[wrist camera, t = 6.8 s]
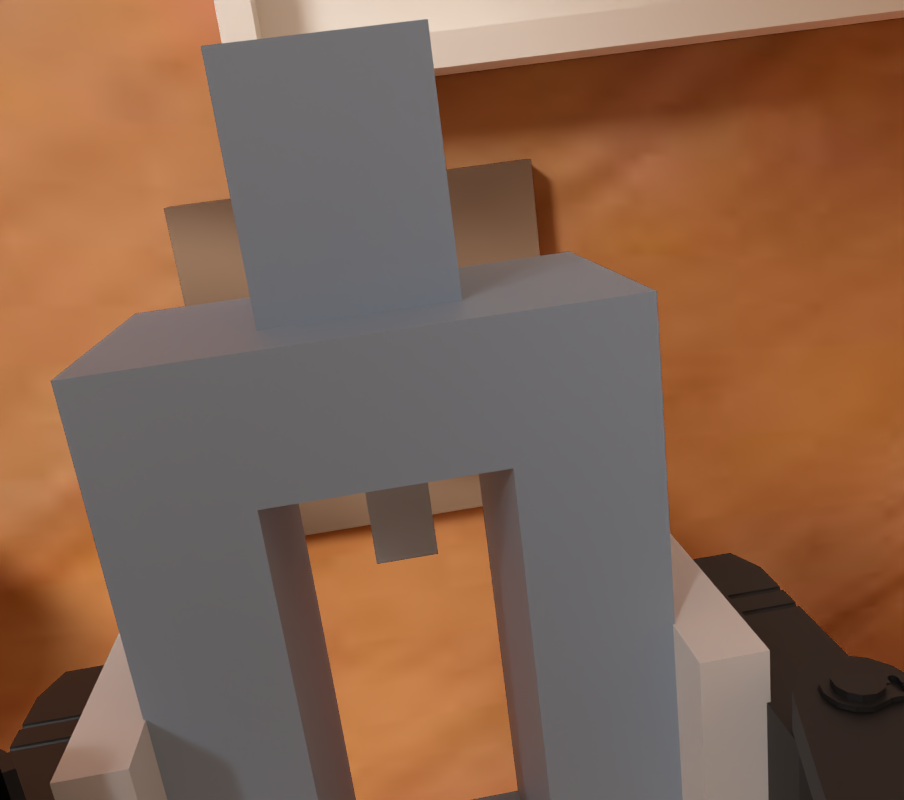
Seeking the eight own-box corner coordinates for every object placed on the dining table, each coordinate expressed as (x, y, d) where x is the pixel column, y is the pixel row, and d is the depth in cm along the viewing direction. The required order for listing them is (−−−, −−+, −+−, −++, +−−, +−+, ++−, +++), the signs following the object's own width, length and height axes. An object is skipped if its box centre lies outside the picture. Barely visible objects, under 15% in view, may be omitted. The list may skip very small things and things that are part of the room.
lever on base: (170, 206, 28) (46, 242, 17) (524, 159, 29) (641, 161, 18) (240, 535, 32) (178, 754, 20) (556, 483, 33) (671, 663, 21)
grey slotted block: (619, 849, 15) (697, 1049, 11) (278, 918, 14) (259, 1145, 11) (550, 29, 11) (640, -22, 8) (81, 86, 10) (-37, 58, 7)
